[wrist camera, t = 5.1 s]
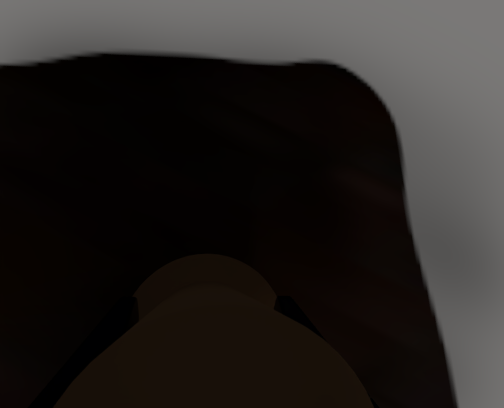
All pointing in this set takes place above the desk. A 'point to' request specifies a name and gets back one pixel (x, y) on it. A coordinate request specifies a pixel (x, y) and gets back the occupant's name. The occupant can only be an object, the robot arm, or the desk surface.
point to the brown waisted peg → (214, 348)
